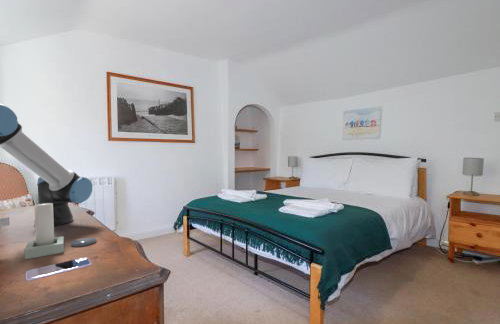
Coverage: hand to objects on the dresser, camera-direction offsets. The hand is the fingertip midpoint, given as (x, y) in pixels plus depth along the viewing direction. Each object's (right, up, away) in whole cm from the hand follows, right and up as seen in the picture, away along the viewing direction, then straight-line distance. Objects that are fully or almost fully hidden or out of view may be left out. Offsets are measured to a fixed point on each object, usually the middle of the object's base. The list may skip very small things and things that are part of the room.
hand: (5, 225), depth 86 cm
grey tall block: (+8, -10, +6) cm, 14 cm away
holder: (+8, -10, +6) cm, 14 cm away
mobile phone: (+23, -11, -8) cm, 27 cm away
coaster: (+16, -10, +14) cm, 24 cm away
